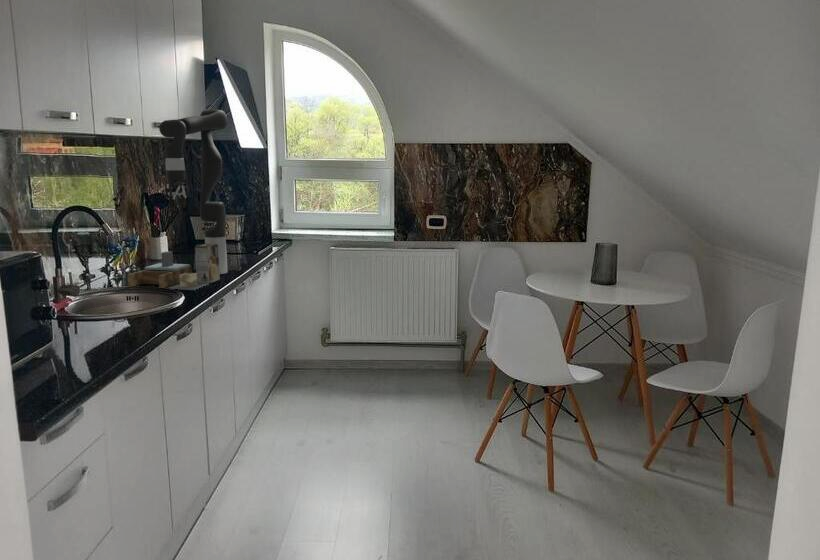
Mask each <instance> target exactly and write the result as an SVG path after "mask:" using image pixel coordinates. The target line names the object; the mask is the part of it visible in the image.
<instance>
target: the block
mask: <svg viewBox="0 0 820 560" xmlns="http://www.w3.org/2000/svg"><path fill="white" fill-rule="evenodd" d="M179 284H180V287H193V286H196V285H197V273H196V272H192V273H183V274H180V283H179Z"/></svg>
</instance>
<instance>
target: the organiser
mask: <svg viewBox="0 0 820 560" xmlns="http://www.w3.org/2000/svg"><path fill="white" fill-rule="evenodd" d="M192 270H193V269H192V265H190V267H187V268H184V269H181V270H178V271H170V270H145V269H142V270H139V271H136V272H131V273H128V274H127V286H135V287H137V286H136V285H138V286H140V285H158V286H159V288H164V289H166V288H169V287H172V286H175V285H178V284H180V274H183V273H193V272H192ZM165 287H166V288H165Z"/></svg>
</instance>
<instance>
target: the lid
mask: <svg viewBox="0 0 820 560" xmlns="http://www.w3.org/2000/svg"><path fill="white" fill-rule="evenodd" d="M160 256H161V257H160V258H161V262H158V263H155V264H152V265H148V266H144V270H170V271H178V270H181V269H184V268H187V267H190V266H191V264H190V263H189V264H188V263H187V264H186V263H174V255H173V251H164V252H160Z"/></svg>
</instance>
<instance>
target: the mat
mask: <svg viewBox="0 0 820 560" xmlns="http://www.w3.org/2000/svg"><path fill="white" fill-rule="evenodd" d="M206 285H207V286H210V284H209V283H197V285H196V286H193V287H180V283H178V284H175V285H172V286H169V287H168V288H170V289H169V290H175V289H178V291H181V290H182V291H197V290H200V289H202V288H204V287H203V286H205V287H207V286H206ZM201 287H202V288H201ZM199 288H200V289H199ZM196 289H197V290H196Z"/></svg>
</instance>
